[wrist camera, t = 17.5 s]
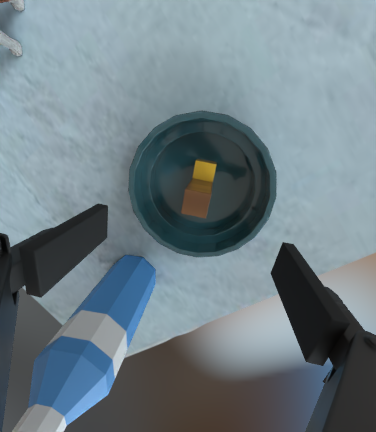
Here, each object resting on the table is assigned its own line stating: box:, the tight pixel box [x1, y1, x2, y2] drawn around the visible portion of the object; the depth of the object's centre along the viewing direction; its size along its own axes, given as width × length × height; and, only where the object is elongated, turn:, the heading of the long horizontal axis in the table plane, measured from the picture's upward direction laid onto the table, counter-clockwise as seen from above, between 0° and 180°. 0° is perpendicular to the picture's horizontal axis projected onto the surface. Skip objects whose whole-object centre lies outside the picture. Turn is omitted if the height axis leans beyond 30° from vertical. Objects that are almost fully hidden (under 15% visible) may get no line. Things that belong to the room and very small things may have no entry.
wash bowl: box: [128, 111, 276, 257], centre depth 30 cm, size 20×20×6 cm
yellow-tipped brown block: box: [181, 159, 217, 218], centre depth 28 cm, size 8×3×10 cm, turn 170°
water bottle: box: [12, 255, 155, 432], centre depth 30 cm, size 9×9×25 cm
